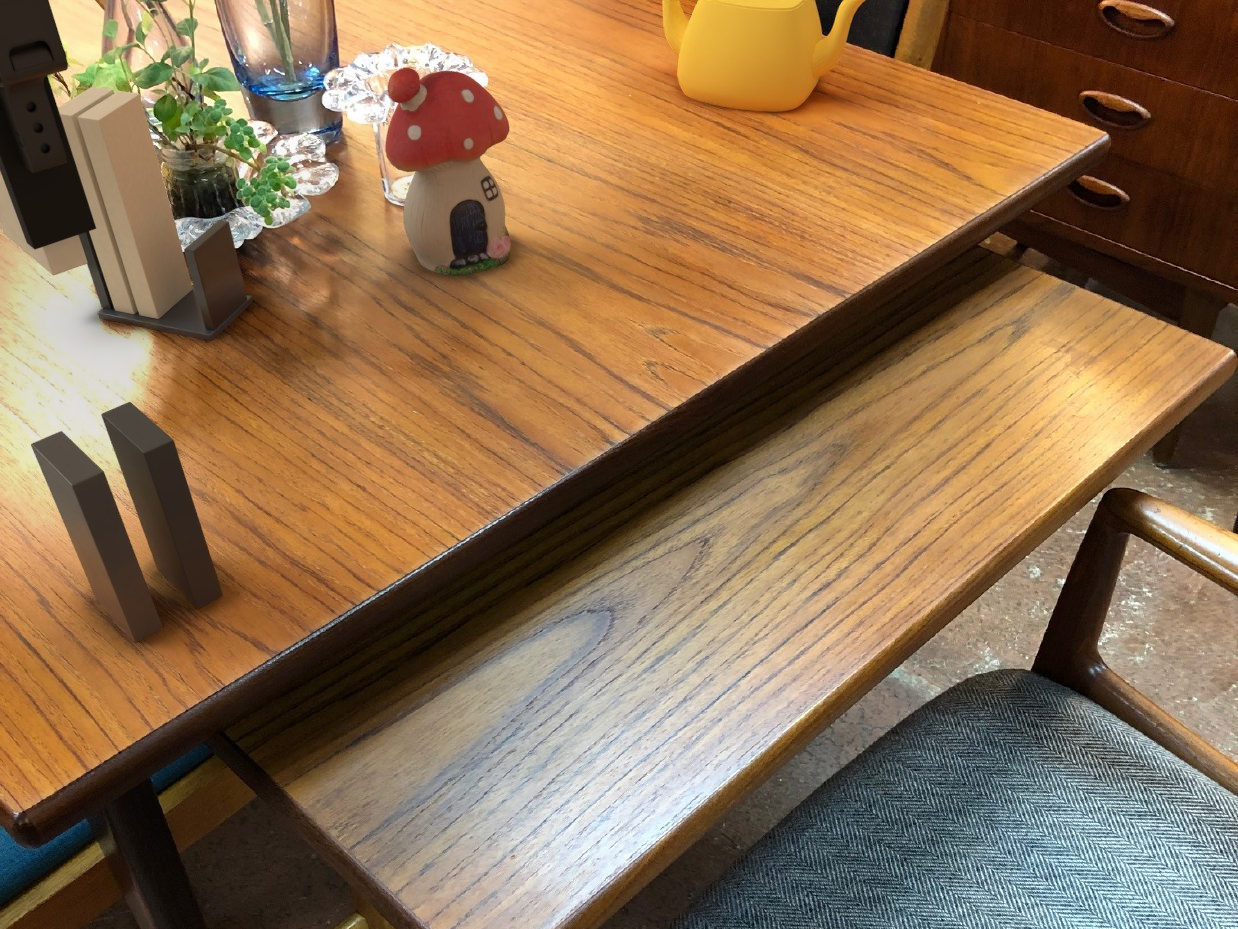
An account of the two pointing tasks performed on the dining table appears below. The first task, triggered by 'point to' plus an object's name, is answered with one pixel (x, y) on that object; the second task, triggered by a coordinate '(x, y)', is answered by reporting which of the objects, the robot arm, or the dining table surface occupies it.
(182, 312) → the book rack
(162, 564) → the pair of brown blocks
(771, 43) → the teapot
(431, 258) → the decorative ornament
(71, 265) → the white book
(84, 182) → the shelved white books
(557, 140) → the dining table surface
